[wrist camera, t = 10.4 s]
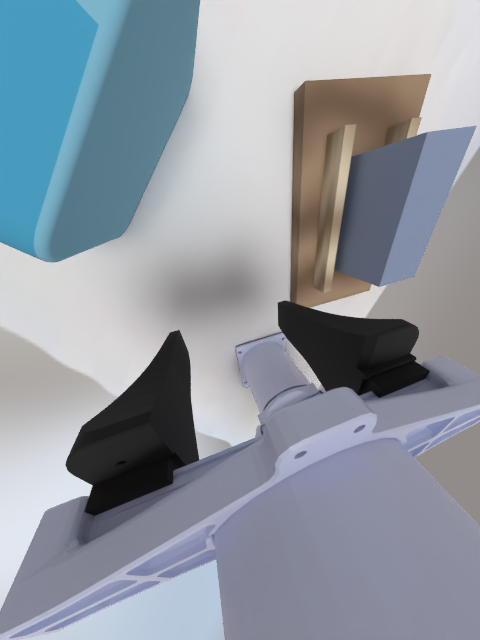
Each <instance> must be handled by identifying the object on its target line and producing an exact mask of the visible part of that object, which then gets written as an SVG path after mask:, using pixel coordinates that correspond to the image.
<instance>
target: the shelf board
mask: <svg viewBox="0 0 480 640" xmlns="http://www.w3.org/2000/svg"><path fill="white" fill-rule="evenodd" d="M430 77H431V74H423V75H405V76H387V77H369V78H351V79H333V80H316V81H305V82H304V83H303V84H302V85H301V86H300V87H299V88H298V89H297V90H296V91H295V95H294V147H293V199H292V251H291V302H292V303H296V304H299V305H302V306H305V307H308V308H310V307H314V306H317V305H320V304H324V303H327V302H331V301H334V300H338V299H341V298H345V297H348V296H351V295H355V294H358V293H362V292H365V291H369V290H370V287H371V284H370V283H368V282H365V281H362V280H360V279H357V278H354V277H351V276H349V275H346V274H343V273H341V272H338V271H335V270H334V266H335V259H336V253H337V246H338V240H339V233H340V227H341V220H342V214H343V207H344V201H345V194H346V188H347V181H348V175H349V169H350V162H351V157H352V156H355V155H359V154H362V153H365V152H368V151H371V150H374V149H377V148H380V147H383V146H386V145H389V144H392V143H396V142H399V141H402V140H405V139H408V138H411V137H414V136H416V135H417V131H418V128H419V124H420V121H421V117H419V115H420V112H421V108H422V105H423V101H424V98H425V94H426V91H427V87H428V84H429V80H430Z"/></svg>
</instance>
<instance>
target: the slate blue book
mask: <svg viewBox="0 0 480 640" xmlns="http://www.w3.org/2000/svg"><path fill="white" fill-rule="evenodd" d="M475 129H476V126H472V127H464V128H456V129H448V130H440V131H432V132H426V133H423V134H420V135H417V136H414V137H411V138H408V139H405V140H402V141H399V142H396V143H392V144H389V145H386V146H383V147H380V148H377V149H374V150H371V151H368V152H365V153H362V154H359V155H355V156H352V157H351V162H350V169H349V175H348V181H347V188H346V194H345V201H344V207H343V214H342V220H341V227H340V233H339V240H338V246H337V253H336V259H335V266H334V270H335V271H338V272H341V273H343V274H346V275H349V276H351V277H354V278H357V279H360V280H362V281H365V282H368V283H370V284H373V285H376V286H378V287H380V286H384V285H387V284H391V283H394V282H397V281H401V280H404V279H407V278H411V277H414V275H415V273H416V271H417V268H418V266H419V263H420V261H421V258H422V256H423V254H424V251H425V249H426V247H427V244H428V242H429V239H430V237H431V234H432V232H433V230H434V227H435V225H436V222H437V220H438V218H439V215H440V213H441V210H442V208H443V206H444V203H445V201H446V198H447V196H448V194H449V191H450V189H451V186H452V184H453V182H454V179H455V177H456V174H457V172H458V170H459V167H460V165H461V162H462V160H463V158H464V155H465V153H466V150H467V148H468V146H469V143H470V141H471V138H472V136H473V133H474V131H475Z"/></svg>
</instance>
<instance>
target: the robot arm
mask: <svg viewBox="0 0 480 640" xmlns="http://www.w3.org/2000/svg"><path fill="white" fill-rule="evenodd" d="M278 325H279V327H280V329H281V330H282V332H283V333H279V334H276V335H273V336H270V337H266V338H263V339H260V340H257V341H253V342H250V343H247V344H244V345H240V346H238V347H236V354H237V359H238V363H239V368H240V373H241V378H242V383H243V387H244V388H248V387H250V388H251V391H252V393H253V396H254V398H255V401H256V403H257V406H258V408H259V411H260V413H261V414H259V415H258V418H259V420H260V423H261V425H260V426H258V427H257V429H256V436H255V438H253V439H251V440H248V441H246V442H243V443H241V444H238V445H236V446H233V447H231V448H229V449H226V450H223V451H221V452H219V453H216V454H214V455H211V456H209V457H206V458H204V459H201V460H199V455H198V449H197V443H196V436H195V429H194V421H193V413H192V405H191V373H190V359H189V352H188V350H187V347H186V345H185V343H184V340H183V338H182V335H181V333H180V330H178V331H174V332H170V334H169V335H168V337H167V338H166V340H165V342H164V344H163V345H162V347H161V349H160V350H159V352H158V353H157V355H156V356H155V358H154V359H153V360H152V362H151V363H150V365H149V366H148V367H147V368H146V370H145V371H144V372H143V373H142V374H141V375H140V377H139V378H138V379H137V380H136V381H135V382H134V383H133V384H132V385H131V386H130V387H129V388H128V389H127V390H126V391H125V392H124V393H123V394H122V395H120V396H119V397H118V398H117V399H116V400H115V401H114V402H112V403H111V404H110V405H109V406H108V407H107V408H105V409H104V410H103V411H101V412H100V413H99V414H98V415H96V416H95V417H94V418H92V419H91V420H90V421H88V422H87V423H86V424H84V425H83V426H82V428H81V430H80V432H79V434H78V436H77V438H76V441H75V443H74V445H73V447H72V449H71V452H70V454H69V456H68V458H67V461H66V467H67V470H68V471H69V472H70V473H71V474H73V475H74V476H76V477H78V478H80V479H82V480H84V481H85V482H87V483H89V484H91V485H93V487H92V490H91V493H90V496H83V497H79V498H76V499H73V500H71V501H68V502H65V503H63V504H60V505H58V506H55V507H53V508H50V509H48V510H47V511H45V513H44V515H43V517H42V519H41V522H40V524H39V526H38V528H37V530H36V533H35V535H34V537H33V539H32V542H31V544H30V546H29V548H28V551H27V553H26V555H25V557H24V560H23V562H22V564H21V566H20V569H19V571H18V573H17V575H16V577H15V580H14V582H13V584H12V586H11V588H10V591H9V593H8V595H7V597H6V599H5V602H4V604H3V606H2V608H1V611H0V640H19V639H24V638H29V637H34V636H39V635H44V634H49V633H54V632H57V631H60V630H61V629H64V628H66V627H68V626H70V625H72V624H74V623H76V622H78V621H80V620H82V619H84V618H86V617H88V616H90V615H92V614H95V613H96V612H99V611H101V610H103V609H105V608H107V607H110V606H112V605H114V604H116V603H118V602H121V601H123V600H125V599H127V598H129V597H132V596H134V595H136V594H138V593H141V592H143V591H145V590H148V589H150V588H152V587H154V586H157V585H159V584H161V583H164V582H166V581H168V580H170V579H173V578H175V577H177V576H180V575H182V574H184V573H187V572H189V571H191V570H193V569H196V568H198V567H200V566H203V565H205V564H207V563H209V562H212V561H214V560H217V569H218V579H219V587H220V597H221V606H222V616H223V625H224V635H225V640H480V526H479V525H478V524H477V523H476V522H475V521H474V520H473V519H472V518H471V517H470V516H469V515H468V514H467V512H465V510H464V509H463V508H462V507H461V506H460V505H459V504H458V503H457V502H456V501H455V500H454V499H453V498H452V497H451V496H450V495H449V494H448V493H447V492H446V491H445V490H444V488H443V487H442V486H441V485H440V484H439V483H438V482H437V481H436V480H435V479H434V478H433V477H432V476H431V475H430V474H429V473H428V472H427V471H426V470H425V468H424V467H422V465H421V464H420V463H419V462H418V461H417V460H416V459H415V457H416V456H418V455H420V454H422V453H423V452H425V451H427V450H428V449H430V448H432V447H434V446H435V445H437V444H439V443H441V442H443V441H444V440H446V439H448V438H449V437H451V436H453V435H455V434H457V433H459V432H461V431H463V430H465V429H467V428H468V427H470V426H472V425H474V424H476V423H478V422H479V421H480V375H478V374H477V373H475V372H473V371H471V370H469V369H467V368H466V367H464V366H462V365H460V364H458V363H456V362H454V361H452V360H450V359H449V358H447V357H445V356H443V355H439V356H437V357H434V358H432V359H429V360H427V361H425V362H423V363H422V364H421V365H420V364H418V363H416V362H415V360H416V357H415V356H413V355H412V354H410V352H411V350H412V348H413V347H414V345H415V343H416V341H417V339H418V335H419V330H418V327H416V326H415V325H413V324H411V323H409V322H407V321H404V320H402V319H366V318H355V317H347V316H340V315H335V314H330V313H326V312H322V311H318V310H315V309H311V308H308V307H305V306H302V305H299V304H296V303H292V302H289V301H282V302H279V303H278ZM282 338H283V339H282ZM286 338H287V339H288V340H289V341H290V342H291V343H292V345H293V346H294V347H295V348H296V349H297V350H298V352H299V353H300V354H301V355H302V356H303V357H304V359H305V360H306V361H307V363H308V364H309V366H310V367H311V369H312V370H313V371H314V373H315V375H316V376H317V378H318V379H319V381H320V382H321V384H322V386H323V387H324V388H321V389H320V390H318V389H317V388H316V386H315V385H314V384H313V383H311V384H310V383H309V382H308V380H307V379H306V378H305V376H304V375H303V374H302V372H301V371H300V370H299V368H298V367H297V366H296V365H295V363H294V362H293V361H292V359H291V358H290V357H289V355H288V354H287V353H286ZM239 351H240V352H239Z"/></svg>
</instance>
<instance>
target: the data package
mask: <svg viewBox="0 0 480 640" xmlns="http://www.w3.org/2000/svg"><path fill="white" fill-rule="evenodd" d="M199 6H200V0H0V242H1V243H4V244H6V245H8V246H10V247H13V248H15V249H17V250H20V251H22V252H24V253H27V254H29V255H31V256H33V257H36V258H38V259H40V260H43V261H46V262H58V261H61V260H64V259H66V258H69V257H71V256H73V255H76V254H78V253H81V252H83V251H86V250H88V249H91V248H93V247H96V246H98V245H101V244H103V243H105V242H108V241H110V240H113V239H115V238H118V237H120V236H121V235H122V234H123V233H124V231H125V230H126V228H127V227H128V225H129V223H130V221H131V219H132V217H133V215H134V213H135V210H136V208H137V206H138V204H139V202H140V200H141V197H142V195H143V193H144V191H145V189H146V187H147V184H148V182H149V180H150V178H151V176H152V174H153V171H154V169H155V167H156V165H157V163H158V161H159V158H160V156H161V154H162V152H163V150H164V148H165V145H166V143H167V141H168V139H169V137H170V135H171V132H172V130H173V128H174V126H175V124H176V122H177V119H178V117H179V115H180V113H181V111H182V108H183V106H184V104H185V101H186V98H187V96H188V93H189V90H190V86H191V82H192V77H193V67H194V57H195V47H196V36H197V26H198V16H199Z"/></svg>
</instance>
